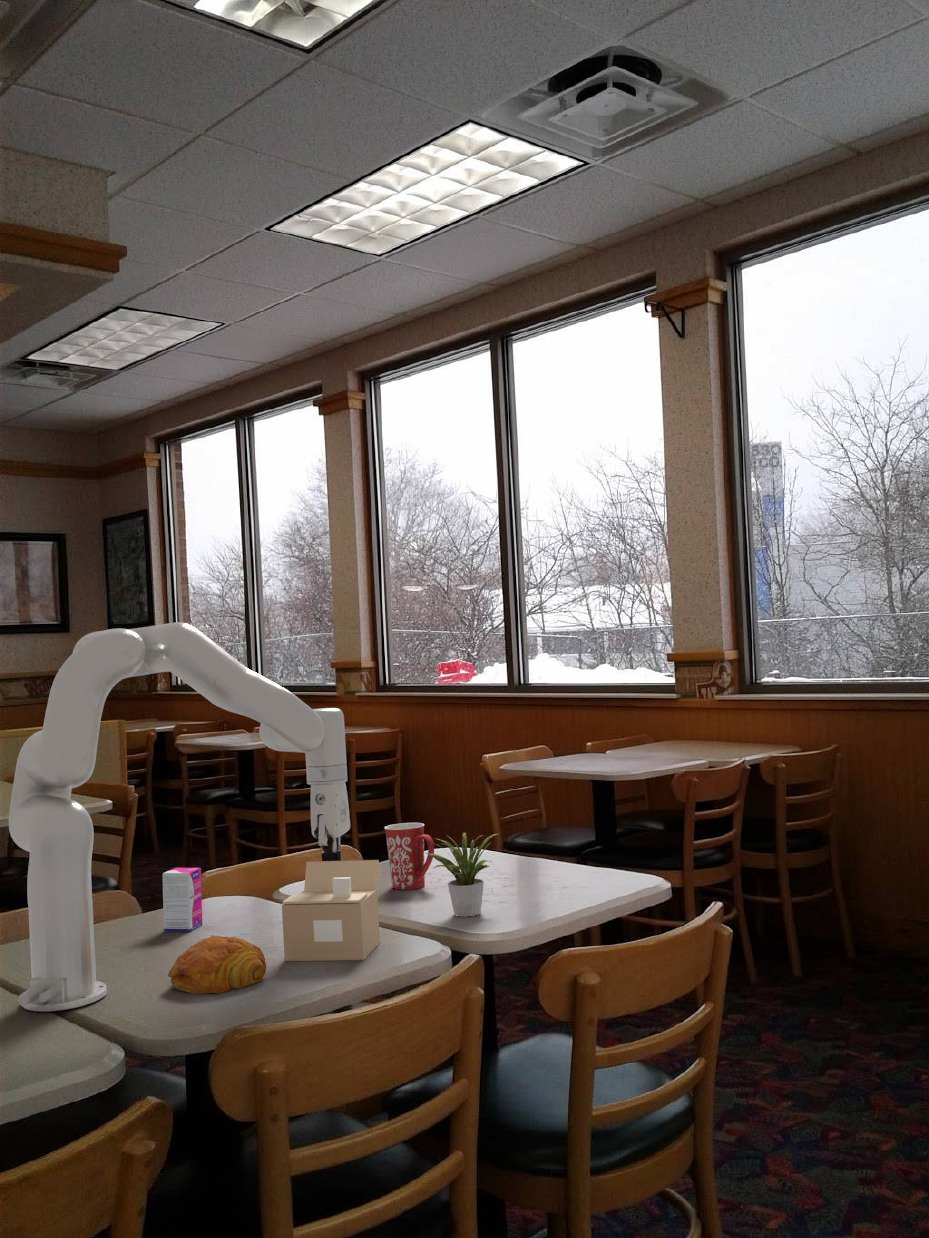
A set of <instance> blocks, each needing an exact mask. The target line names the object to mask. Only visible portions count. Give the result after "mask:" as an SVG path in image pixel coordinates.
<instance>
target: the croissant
mask: <svg viewBox="0 0 929 1238" xmlns="http://www.w3.org/2000/svg"><path fill="white" fill-rule="evenodd" d="M266 970H267V963H266V957H265V954H264V953H263V952H262V950H261V948H260V947H259V946H258V945H255V944H253V943H251V942H249V941H247V940H245V939H243V938H240V937H235V936H220V935H219V936H217V935H212V936H209V937H205V938H202V939H201V940H199V941H197V942H196V943H194V944H193V945H190V947H188V948H187V949H186V950H185V951H184V952H182V954H180V955H179V956H178V957H177V958H176V960H175V963H174V964H173V966H172V967H171V968H170V970H169V972H168V974H167V977H168V978H170V980H169V981H170V983H171V985H173V987H174V988H175V989H176V990H180V991H182V992H187V993H190V994H196V995H198V994H199V995H200V994H223V993H228V992H231V991H232V990H238V989H239V990H240V989H242V988H244V987H248V986H251V985H253V984H257V983H259V982H261V981H262V980H263V978H265V975H266V972H267V971H266Z"/></svg>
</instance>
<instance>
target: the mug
mask: <svg viewBox="0 0 929 1238" xmlns="http://www.w3.org/2000/svg"><path fill="white" fill-rule="evenodd" d="M383 830H384V832H385V838H386V846H387V853H388V854H387V855H388V863H389V871H390V881H391V888H392V889H393V888H395V889H394V890H397V889H401V890H400V891H402V889H403V890H404V889H405V890H404V891H406V890H415V889H420V888H423V887H425V885H426V884H425V883H426V881H425V880H426V879H425V875H426V873H428V872H427V871H428V870H429V868H430V866H431V864H432V861H433V859H434V857H432V856H430V855H428V854H427V857H426V859H425V842H426V844H427V849H428V850H427V853H430V854H435V843H434V840H433V837H431V836H430V835H429V834H425V824H424V823H421V822H403V823H394V824H389V825H387V826H384V827H383ZM433 843H434V844H433Z"/></svg>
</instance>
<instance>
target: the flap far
mask: <svg viewBox="0 0 929 1238" xmlns="http://www.w3.org/2000/svg"><path fill="white" fill-rule="evenodd" d="M379 862H380V861H379V859H364V860H361V859H360V860H341V861H322V860H321V861H318V860H317V861H306V862H305V863H306V865H305V866H306V867H305V877H304V887H303V889H304V890H303V891H317V890H333V885H332V879H333V878H340V877H351V890H364V889H377V890H378V884H379V880H378V878H379V867H380V866H379Z"/></svg>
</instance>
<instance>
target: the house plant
mask: <svg viewBox="0 0 929 1238" xmlns="http://www.w3.org/2000/svg"><path fill="white" fill-rule="evenodd" d="M498 835H501V832H500V833H493V834H492V835H489V836H487V837H486V838H485V839H484V840H483V841H482V842H481V843H480V844H479V845H478V846H476V847H474V846H475V843H476V841H477V840H478V839H479V838H481V837H483V836H484V834H482V835H479V836H477V837H476V838H475V839H472V840H471V841H470V848H469V855H468V836H467V833H466V832H464V831H463V832H462V839H461V848H460V846H459V845H458V844H457V842H456V841H455V840H454V839H453V838H451V837H450V836H449V835H447V838H449V839H450V840H451V841H452V843H454V845H455V846H454V845H453V844H452V843H450V842H449V841H446V840H443V839H440V838H434V840H439V841H441V842H443V843H441V842H440V844H442V845H445V846H447V847H448V849H449V850H450V852H451V853H452V855H451V854H450V853H449V852H448V851H446V850H445V852H446V853H447V854H448V855H449V856H450V857H452V856H453V857H454V858H452V860H453V861H454V862H455V863H453V862H452V861H451V860H450V859H448V858H446V857H443V856H441V855H438V854H437V853H434V854H430V853H428V852H426V853H425V854H427V856H428V855H430V856H432V857H433V859H434V860H436V861H438V862H440V863H441V864H437V865H435V866H434V867H432V870H434V869H435V868H436V869H437V868H438V867H445V868H446V869H447V870H448V871H449V872H450V873H451V875H453V877H454V879H452V880H450V881H448V882H447V886H448V890H449V891H448V893H449V896H450V901H451V905H452V906H451V907H452V910H453V915H454V914H455V915H457V916H473V917H476V916H475V915H477V916H479V915H481V914H480V913H482V903H483V892H484V883H485V881H484V880H483V879H482V878H477V877H476V876H477V874H478V873H479V872H480V871H482V870H484V869H487V868H490V865H488V864H485V863H486V862H488V860H486V859H482V860H479V859H480V857H481V856H482V855H483V853H484V852H485V850H486V849H487V847H489V845H490V844H491V842H489V843H488V844H487V842H488V841H489V840H490V839H491V838H493V837H494V836H498ZM433 844H434V845H436V846H438V847H440V848H442V849H443V847H442V846H441V845H439V844H436V843H433ZM485 844H486V846H485ZM484 846H485V847H484ZM478 861H479V862H478ZM477 862H478V863H477ZM489 862H490V863H492V861H491V860H489ZM478 914H479V915H478ZM455 915H454V916H455ZM457 916H456V917H457Z"/></svg>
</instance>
